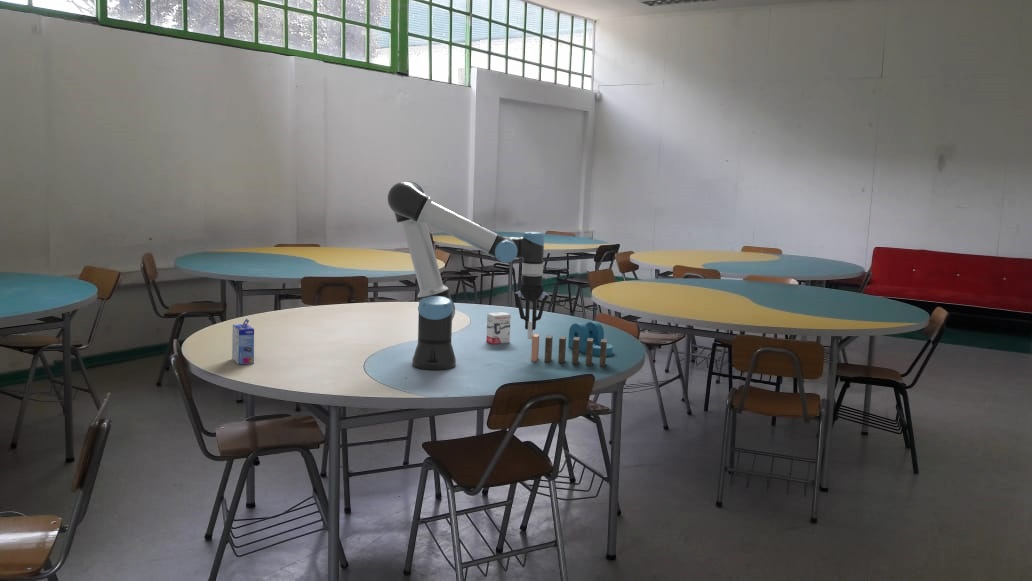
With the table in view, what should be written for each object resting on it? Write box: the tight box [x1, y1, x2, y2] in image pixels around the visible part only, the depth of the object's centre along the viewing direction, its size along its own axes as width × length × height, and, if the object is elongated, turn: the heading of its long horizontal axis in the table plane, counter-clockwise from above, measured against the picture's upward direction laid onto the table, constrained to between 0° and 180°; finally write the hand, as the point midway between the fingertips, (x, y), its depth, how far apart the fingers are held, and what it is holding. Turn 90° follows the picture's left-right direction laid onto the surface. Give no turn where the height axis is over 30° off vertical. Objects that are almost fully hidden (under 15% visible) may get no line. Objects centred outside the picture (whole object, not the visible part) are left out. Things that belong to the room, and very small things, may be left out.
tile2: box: [544, 334, 554, 363], centre depth 276 cm, size 2×5×9 cm, turn 170°
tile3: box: [557, 335, 567, 364], centre depth 276 cm, size 2×5×9 cm, turn 171°
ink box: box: [485, 311, 512, 345], centre depth 303 cm, size 8×5×12 cm, turn 123°
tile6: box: [599, 338, 608, 368], centre depth 273 cm, size 2×5×9 cm, turn 171°
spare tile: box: [530, 333, 540, 362], centre depth 277 cm, size 2×5×9 cm, turn 171°
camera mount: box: [567, 321, 614, 357], centre depth 295 cm, size 18×10×10 cm, turn 34°
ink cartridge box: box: [231, 318, 255, 365], centre depth 257 cm, size 10×6×14 cm, turn 33°
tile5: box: [585, 338, 593, 366], centre depth 274 cm, size 2×5×9 cm, turn 171°
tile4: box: [571, 337, 580, 365], centre depth 275 cm, size 2×5×9 cm, turn 171°
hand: (530, 338), depth 277 cm, fingers closed
